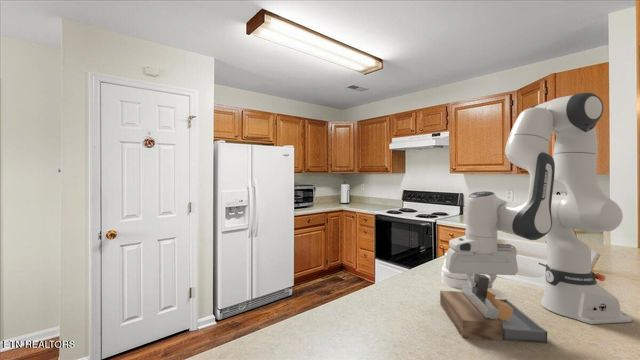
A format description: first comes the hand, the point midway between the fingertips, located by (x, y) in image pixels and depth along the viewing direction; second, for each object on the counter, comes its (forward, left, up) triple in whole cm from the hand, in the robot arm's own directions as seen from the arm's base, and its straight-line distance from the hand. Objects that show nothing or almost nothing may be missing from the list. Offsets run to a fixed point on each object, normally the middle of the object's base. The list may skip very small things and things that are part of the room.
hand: (480, 287), depth 87 cm
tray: (-7, 0, -11) cm, 13 cm away
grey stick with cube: (+1, 0, -5) cm, 5 cm away
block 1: (-2, -5, -6) cm, 9 cm away
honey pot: (-5, -32, -11) cm, 34 cm away
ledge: (+4, 0, -11) cm, 11 cm away
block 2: (-2, +5, -6) cm, 9 cm away
